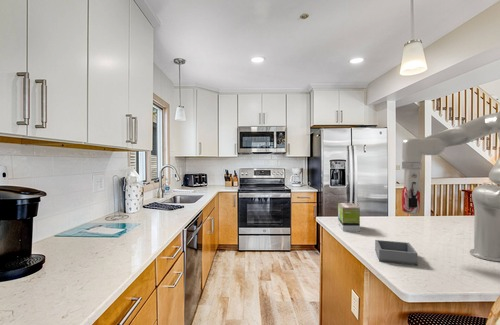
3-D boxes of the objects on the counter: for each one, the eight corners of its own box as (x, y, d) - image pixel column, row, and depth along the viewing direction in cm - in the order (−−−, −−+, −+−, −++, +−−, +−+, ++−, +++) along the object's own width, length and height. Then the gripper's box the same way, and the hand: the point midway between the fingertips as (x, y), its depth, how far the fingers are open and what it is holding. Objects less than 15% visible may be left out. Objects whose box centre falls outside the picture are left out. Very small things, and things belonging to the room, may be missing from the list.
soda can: (422, 214, 113) (423, 187, 112) (404, 214, 114) (405, 186, 114) (416, 211, 119) (416, 185, 119) (399, 210, 121) (399, 185, 121)
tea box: (337, 225, 169) (337, 202, 169) (353, 225, 168) (353, 202, 167) (342, 231, 154) (342, 206, 154) (360, 232, 153) (360, 207, 153)
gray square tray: (409, 253, 118) (409, 242, 118) (417, 265, 105) (417, 253, 105) (375, 250, 123) (375, 239, 123) (379, 261, 110) (379, 249, 110)
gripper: (427, 167, 107) (425, 210, 107) (416, 166, 123) (415, 203, 123) (406, 166, 109) (405, 208, 110) (398, 165, 126) (397, 202, 126)
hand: (410, 205), depth 117 cm, fingers closed on soda can, 7 cm apart
